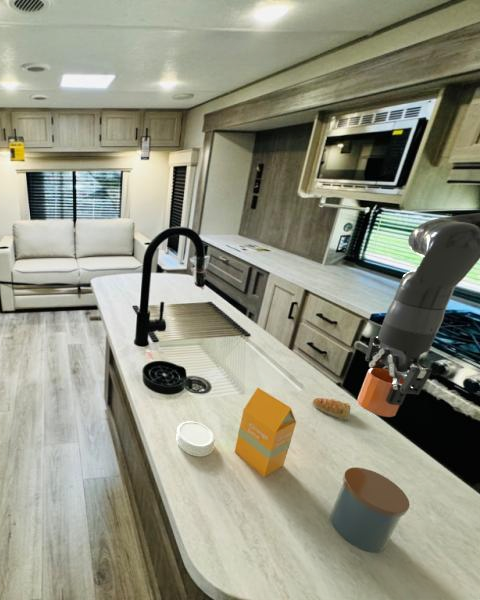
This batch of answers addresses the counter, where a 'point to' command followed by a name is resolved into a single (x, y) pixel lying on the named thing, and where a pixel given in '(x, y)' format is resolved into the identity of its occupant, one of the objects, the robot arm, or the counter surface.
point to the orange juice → (265, 432)
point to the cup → (377, 393)
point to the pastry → (333, 407)
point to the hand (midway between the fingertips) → (381, 392)
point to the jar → (368, 509)
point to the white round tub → (195, 438)
